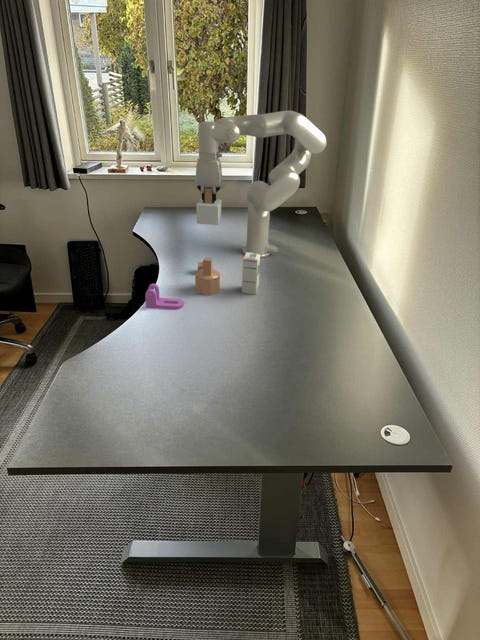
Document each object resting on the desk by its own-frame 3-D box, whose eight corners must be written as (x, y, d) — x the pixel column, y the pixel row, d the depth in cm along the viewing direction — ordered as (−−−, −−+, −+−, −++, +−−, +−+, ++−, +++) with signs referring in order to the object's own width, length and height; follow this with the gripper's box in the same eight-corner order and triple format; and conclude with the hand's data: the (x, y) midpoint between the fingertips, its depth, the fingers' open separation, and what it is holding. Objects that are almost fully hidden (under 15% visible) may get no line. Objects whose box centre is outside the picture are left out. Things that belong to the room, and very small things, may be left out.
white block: (221, 217, 207) (221, 185, 199) (218, 225, 199) (217, 191, 192) (200, 216, 207) (200, 184, 200) (196, 223, 200) (196, 190, 193)
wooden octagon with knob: (221, 285, 190) (222, 255, 183) (217, 296, 182) (217, 265, 176) (198, 283, 191) (198, 253, 184) (193, 293, 183) (193, 262, 177)
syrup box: (256, 294, 184) (258, 259, 177) (241, 292, 185) (242, 257, 178) (258, 288, 189) (261, 253, 182) (243, 286, 190) (245, 251, 183)
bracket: (146, 307, 173) (144, 290, 169) (149, 300, 178) (148, 283, 174) (182, 310, 173) (182, 292, 169) (185, 302, 177) (184, 285, 174)
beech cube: (207, 270, 201) (207, 262, 199) (207, 275, 198) (207, 266, 195) (197, 271, 200) (197, 262, 198) (198, 275, 197) (197, 266, 195)
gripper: (230, 154, 192) (230, 200, 202) (189, 152, 194) (191, 198, 203) (228, 159, 186) (227, 206, 195) (185, 157, 187) (187, 203, 197)
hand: (209, 201), depth 199 cm, fingers closed on white block, 3 cm apart
